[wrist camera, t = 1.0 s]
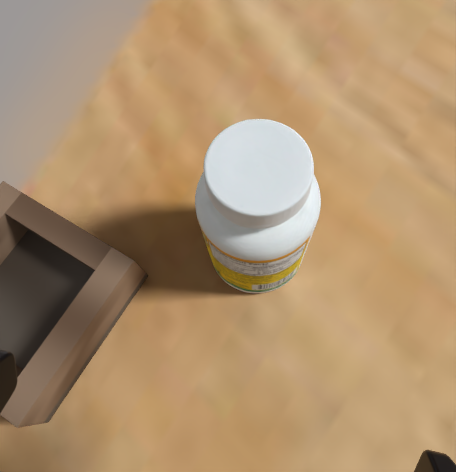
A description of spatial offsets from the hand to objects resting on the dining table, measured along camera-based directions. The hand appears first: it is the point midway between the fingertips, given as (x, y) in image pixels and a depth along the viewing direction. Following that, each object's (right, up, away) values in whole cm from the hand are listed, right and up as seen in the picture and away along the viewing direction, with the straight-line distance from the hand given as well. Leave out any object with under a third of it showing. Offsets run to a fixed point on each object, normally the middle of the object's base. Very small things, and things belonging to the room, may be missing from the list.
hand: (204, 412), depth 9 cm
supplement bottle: (+2, +3, +15) cm, 16 cm away
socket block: (-10, 0, +15) cm, 18 cm away
